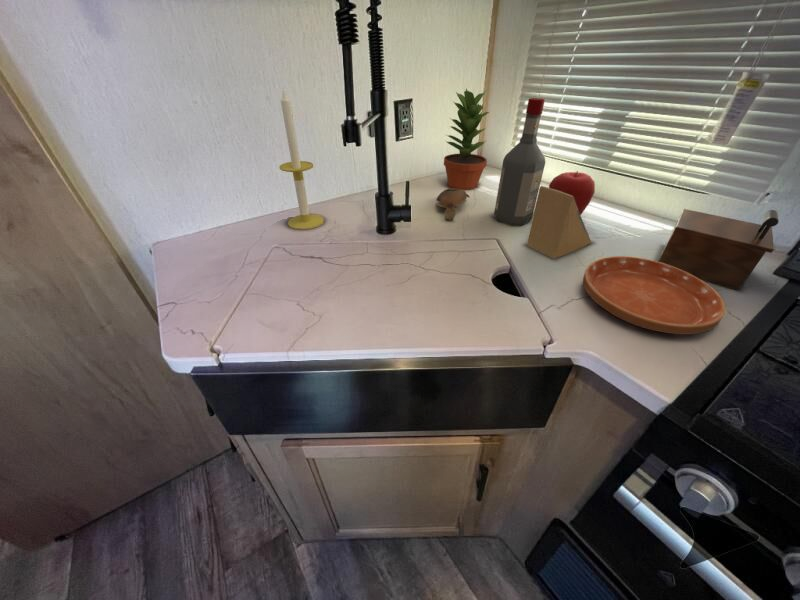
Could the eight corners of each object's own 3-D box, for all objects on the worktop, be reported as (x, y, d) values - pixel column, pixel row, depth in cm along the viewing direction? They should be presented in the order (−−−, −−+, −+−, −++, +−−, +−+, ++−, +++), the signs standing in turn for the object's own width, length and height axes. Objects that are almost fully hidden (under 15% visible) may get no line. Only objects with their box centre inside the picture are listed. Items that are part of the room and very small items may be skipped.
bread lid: (769, 230, 73) (786, 206, 70) (771, 253, 65) (790, 227, 62) (682, 211, 81) (693, 189, 78) (674, 230, 73) (686, 206, 70)
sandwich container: (593, 242, 88) (615, 183, 79) (554, 259, 81) (573, 196, 72) (564, 230, 94) (581, 173, 85) (525, 245, 87) (540, 185, 78)
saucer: (748, 334, 60) (762, 317, 58) (629, 348, 58) (638, 331, 55) (652, 266, 79) (660, 252, 76) (558, 275, 76) (563, 260, 74)
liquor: (534, 218, 100) (564, 99, 82) (518, 228, 95) (546, 102, 77) (506, 210, 105) (528, 95, 87) (489, 218, 100) (509, 99, 82)
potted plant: (484, 179, 129) (498, 84, 111) (481, 193, 117) (495, 89, 99) (445, 176, 132) (451, 83, 114) (437, 189, 120) (444, 88, 102)
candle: (284, 229, 94) (254, 90, 75) (292, 215, 102) (267, 85, 83) (321, 229, 94) (300, 89, 75) (326, 214, 102) (309, 85, 83)
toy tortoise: (433, 222, 100) (468, 218, 97) (430, 205, 97) (466, 200, 94) (441, 199, 116) (471, 195, 113) (439, 183, 113) (470, 179, 110)
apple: (562, 207, 107) (575, 162, 99) (594, 221, 99) (611, 173, 91) (532, 214, 103) (543, 167, 95) (563, 229, 94) (578, 179, 86)
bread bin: (740, 265, 79) (764, 229, 74) (738, 290, 71) (766, 251, 66) (664, 246, 87) (681, 212, 81) (655, 266, 79) (674, 230, 73)
